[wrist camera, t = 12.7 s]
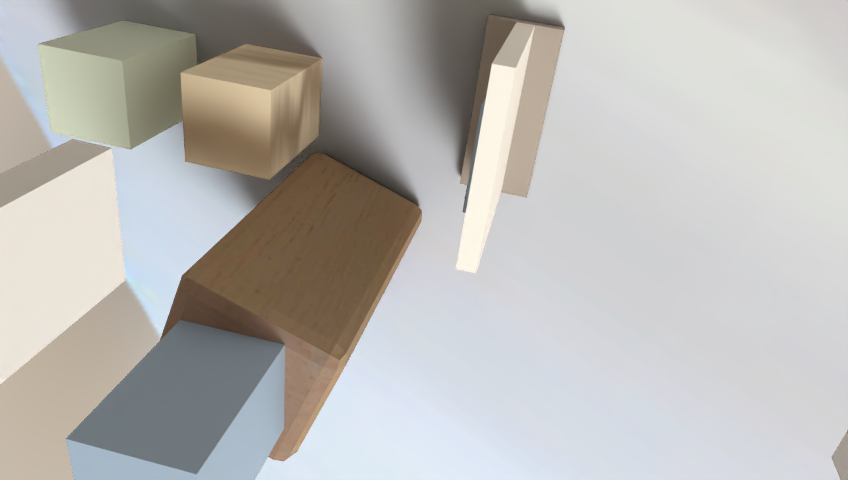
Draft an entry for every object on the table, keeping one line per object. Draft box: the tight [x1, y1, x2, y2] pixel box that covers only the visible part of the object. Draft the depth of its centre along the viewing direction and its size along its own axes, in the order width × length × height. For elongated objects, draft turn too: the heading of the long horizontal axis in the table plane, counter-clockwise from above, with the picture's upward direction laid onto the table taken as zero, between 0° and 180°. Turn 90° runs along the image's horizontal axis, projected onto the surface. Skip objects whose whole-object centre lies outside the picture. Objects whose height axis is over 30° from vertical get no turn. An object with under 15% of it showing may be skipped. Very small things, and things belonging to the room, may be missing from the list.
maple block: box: [180, 44, 323, 180], centre depth 46 cm, size 6×6×9 cm
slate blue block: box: [66, 320, 285, 480], centre depth 33 cm, size 6×6×9 cm
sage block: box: [38, 20, 197, 149], centre depth 48 cm, size 6×6×9 cm
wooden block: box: [160, 153, 422, 461], centre depth 46 cm, size 10×10×20 cm
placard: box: [456, 15, 565, 273], centre depth 41 cm, size 12×5×13 cm, turn 172°
